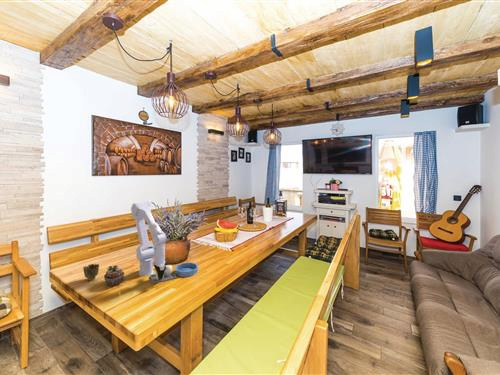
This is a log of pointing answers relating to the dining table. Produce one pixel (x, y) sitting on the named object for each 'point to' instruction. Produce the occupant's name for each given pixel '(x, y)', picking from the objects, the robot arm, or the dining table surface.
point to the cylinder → (168, 271)
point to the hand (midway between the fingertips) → (159, 277)
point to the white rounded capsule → (157, 277)
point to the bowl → (186, 269)
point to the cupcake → (113, 276)
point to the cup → (91, 271)
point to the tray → (153, 278)
